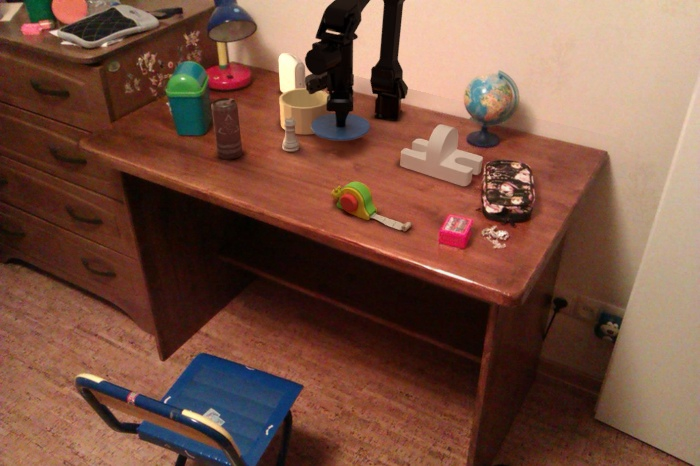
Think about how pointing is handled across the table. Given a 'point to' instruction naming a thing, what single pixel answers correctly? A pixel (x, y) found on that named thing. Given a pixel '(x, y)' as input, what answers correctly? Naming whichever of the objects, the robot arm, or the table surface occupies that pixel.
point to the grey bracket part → (442, 157)
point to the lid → (340, 127)
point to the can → (227, 128)
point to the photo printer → (291, 72)
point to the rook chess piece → (290, 136)
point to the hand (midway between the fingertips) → (340, 123)
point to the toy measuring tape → (363, 204)
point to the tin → (302, 108)
